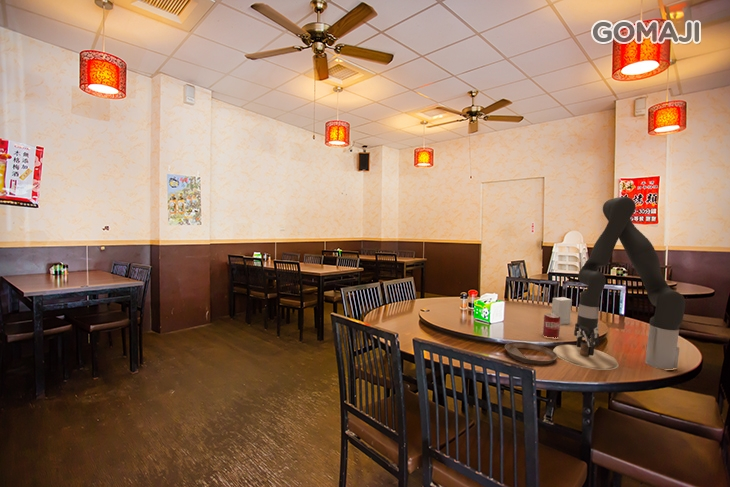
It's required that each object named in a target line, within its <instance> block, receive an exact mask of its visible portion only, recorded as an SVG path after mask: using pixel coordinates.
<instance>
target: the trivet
mask: <svg viewBox="0 0 730 487" xmlns="http://www.w3.org/2000/svg"><path fill="white" fill-rule="evenodd" d="M552 351H553V352H555V347H554V348H553V350H552ZM557 357H558V358H559V359H561V360H563V361H565V362H567V363H569V364H572V365H575V366H578V367H582V368H587V369H591V370H592V369H593V370H596V369H595V368H589V367H584V366H580V365H576V364H573V363H571V362H568V361H566V360H564V359H562V358H560V357H559V356H557ZM618 367H619V363H618V361H617V366H616V367H615V368H612V369H597V370H600V371H609V370H610V371H611V370H615V369H617V368H618Z"/></svg>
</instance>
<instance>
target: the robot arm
mask: <svg viewBox="0 0 730 487" xmlns="http://www.w3.org/2000/svg"><path fill="white" fill-rule="evenodd" d="M636 206H637V205H636V202H635V200H633V198H631V197H628V196H620V197H619V196H617V197H613V198H611V199H608V200H605V202H604V203H603V205H602V213H603V215H604V217H605V218H606V220H607V221H608V222H607V223H606V227H604V230H603V231H602V233H601V234H600V236H599V237H598V238H597V240H596V241H595V243H594V245H593V247H592V250H591V253H590V255H589V258H588V259H587V260H586V262H584V264H583V266H582V267H581V269H580V270H579V272H578V280H579V283H581V284H583V285H585V286H587V288H586V290H583V291H581V292H580V294H579V295H580V296H579V304H578V308H577V320H576V322H575V324H574V325H575V327H574V333H573V335H574V336H575V338H576V346H577V347H579V348H581V343H584V340H585V343H588V350H587V354H588V355H591V356H593V355H594V349H595V348H599V341H600V340H599V339H600V334H599V332H598V333H594V329H595V328H597V327H598V324H599V316H600V307H599V306H600V297H601V295H602V293H603V290H604V288H605V285H606V283H607V282H606V277H605V274H604V273H603V272H601V271H599V269H600V268H602V267H607V266H608V264H609V262H610V259H611V258H612V255H613V252H614V249H615V247H616V245H617V242H618V240H619V241H620V244H621V245H622V247H623V249H624V250H625V251H624V252H625V253H626V255H627V257H628V259H629V261H630V262H631V264H632V267H633V268H634V271H635V272H636V273H637V275H638V276H639V278H640V280H641V282H642V283H643V286H644V288H645V291H646V292H645V293H646V294H647V297H648V300H649V301H650V303H651V305H653V306H654V307H655V311H654V315H653V316H652V317H650V318H649V325H648V326H649V328H648V335H647V344H646V352H645V364H647V365H648V366H650V367H653V368H655V367H657V368H656V369H658V368H663V369H673V368H677V369H678V365H679V364H678V363H679V358H680V357H679V355H680V347H679V346H678V340H679V334H680V332H679V331H680V327H681V325H682V323H683V320H684V314H685V310H686V299H685V296H684V295H682V293H680V292H678V291H676V290H674V289H672V288H671V287H670V286H669V284H668V283H667V281H666V279H665V278H664V276H663V273H662V269H661V264H660V263H661V262H660V258H659V255H658V253H657V251H656V249H655V248H654V245H653V244H652V242H651V241H650V240H649V238H648V237H646V236H645V235H644V233H642V232H641V231H640V230H639V229H638V228H637V226H636V225H635V224H634V223H633V221H632V216H634V213H635V211H636V208H637V207H636ZM598 328H599V327H598Z"/></svg>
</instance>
